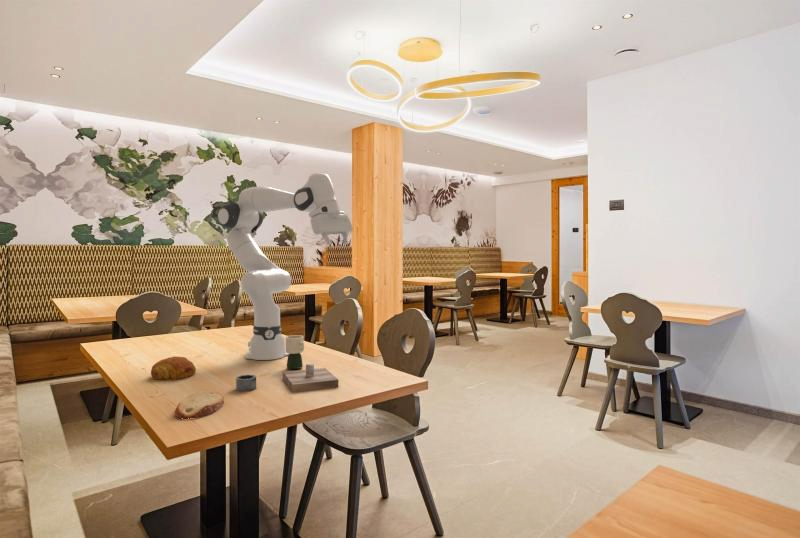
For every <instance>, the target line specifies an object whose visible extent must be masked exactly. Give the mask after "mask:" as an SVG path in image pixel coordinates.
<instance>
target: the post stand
mask: <svg viewBox="0 0 800 538" xmlns="http://www.w3.org/2000/svg"><path fill="white" fill-rule="evenodd" d="M282 380H283V381H284V382H285V383H286V385H287V386H288V388H289V389H290V391H291V392H292V393H296V392H303V391H313V390H314V391H315V390H321V389H323V390H324V389H329V388H338V387H339V379H338V377H336V376H335V375H334V374H332V372H331V371H329V369H327V368H326V367H320V368H319V367H318V368H315V364H313V363H306V364H305V369H301V370H300V369H296V370H288V371H282Z"/></svg>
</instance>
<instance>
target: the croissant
mask: <svg viewBox="0 0 800 538" xmlns="http://www.w3.org/2000/svg"><path fill="white" fill-rule="evenodd" d="M196 371H197V368H196V366H195V365H194V363H193V362H192V361H191V360H189V359H188V358H187V357H186V356H185V357H184V356H170V357H167V358H164V359H160V360H159V361H157V362H156V363H154V364H152V366H151V370H150V376H151V377H152V378H153V379H154V380H160V381H161V380H164V379H165V381H167V380H168V379H169V380H170V379H171V380H170V381H175V380H180V379H181V380H182V379H185V378H189V377H191V376H193V375H195V373H196Z"/></svg>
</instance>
